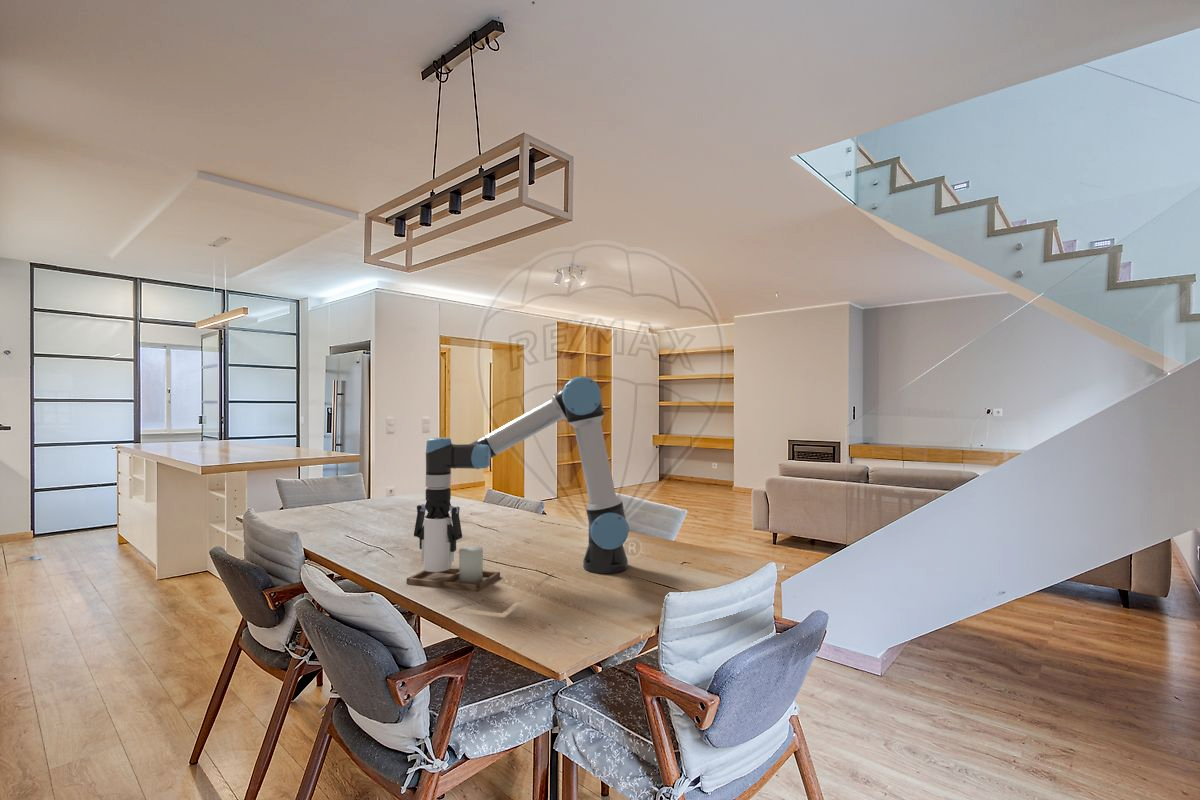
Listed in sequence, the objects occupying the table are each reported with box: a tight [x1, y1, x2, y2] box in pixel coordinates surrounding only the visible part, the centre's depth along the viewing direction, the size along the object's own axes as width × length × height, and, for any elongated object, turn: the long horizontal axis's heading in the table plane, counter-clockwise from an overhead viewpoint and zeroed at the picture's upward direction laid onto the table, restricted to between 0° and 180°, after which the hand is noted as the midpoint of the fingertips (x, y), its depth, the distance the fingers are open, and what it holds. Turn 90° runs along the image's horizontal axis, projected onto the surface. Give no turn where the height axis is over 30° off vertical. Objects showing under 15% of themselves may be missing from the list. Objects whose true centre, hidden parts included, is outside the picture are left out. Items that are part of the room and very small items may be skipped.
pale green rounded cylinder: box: [458, 545, 484, 585], centre depth 172 cm, size 7×7×10 cm
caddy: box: [406, 567, 501, 592], centre depth 173 cm, size 24×14×2 cm, turn 74°
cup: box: [423, 514, 452, 572], centre depth 175 cm, size 8×8×16 cm
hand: (437, 560), depth 175 cm, fingers closed on cup, 8 cm apart
